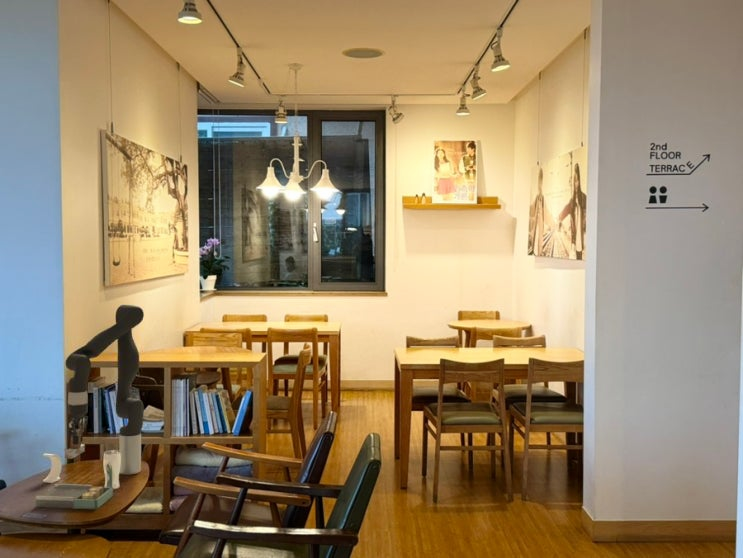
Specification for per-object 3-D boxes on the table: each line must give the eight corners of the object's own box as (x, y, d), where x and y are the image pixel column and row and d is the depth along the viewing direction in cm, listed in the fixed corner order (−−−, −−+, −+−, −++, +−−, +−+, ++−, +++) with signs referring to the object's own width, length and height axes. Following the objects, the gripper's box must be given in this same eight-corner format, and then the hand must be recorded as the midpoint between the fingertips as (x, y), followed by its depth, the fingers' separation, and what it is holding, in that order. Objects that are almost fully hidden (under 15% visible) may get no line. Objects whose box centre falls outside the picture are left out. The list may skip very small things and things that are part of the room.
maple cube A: (93, 486, 277) (103, 486, 277) (93, 496, 277) (103, 496, 277) (88, 489, 273) (98, 490, 273) (88, 499, 273) (98, 500, 273)
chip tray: (91, 495, 280) (91, 486, 280) (113, 496, 279) (113, 487, 279) (73, 508, 265) (73, 499, 265) (96, 509, 265) (96, 500, 264)
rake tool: (77, 450, 294) (79, 422, 293) (84, 451, 294) (86, 423, 293) (64, 458, 283) (66, 429, 282) (71, 458, 283) (74, 429, 282)
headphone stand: (43, 481, 295) (43, 454, 295) (52, 477, 301) (52, 450, 300) (52, 483, 294) (52, 455, 294) (61, 478, 300) (61, 451, 299)
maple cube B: (86, 491, 271) (96, 492, 271) (86, 501, 271) (96, 502, 271) (81, 495, 267) (92, 495, 267) (81, 505, 267) (92, 505, 267)
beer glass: (120, 489, 288) (120, 453, 287) (102, 490, 285) (102, 454, 285) (121, 484, 294) (121, 449, 294) (103, 485, 292) (103, 450, 292)
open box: (55, 493, 281) (55, 483, 281) (91, 495, 280) (91, 484, 280) (35, 507, 266) (35, 496, 266) (73, 508, 265) (73, 497, 265)
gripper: (77, 398, 295) (77, 438, 295) (60, 405, 281) (60, 447, 281) (94, 399, 294) (94, 439, 295) (78, 405, 280) (78, 448, 281)
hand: (77, 442), depth 288 cm, fingers closed on rake tool, 3 cm apart
